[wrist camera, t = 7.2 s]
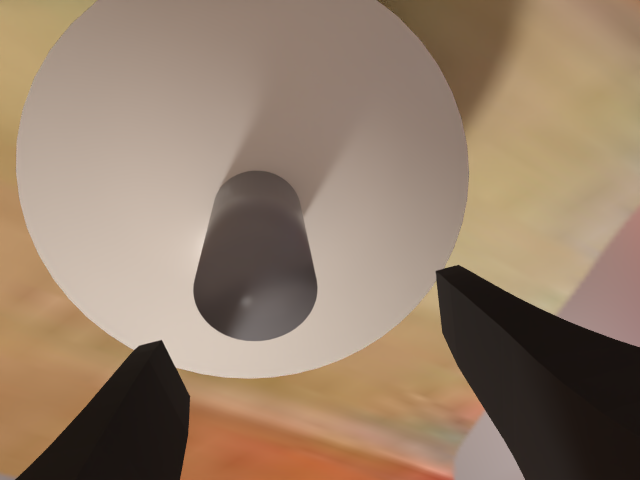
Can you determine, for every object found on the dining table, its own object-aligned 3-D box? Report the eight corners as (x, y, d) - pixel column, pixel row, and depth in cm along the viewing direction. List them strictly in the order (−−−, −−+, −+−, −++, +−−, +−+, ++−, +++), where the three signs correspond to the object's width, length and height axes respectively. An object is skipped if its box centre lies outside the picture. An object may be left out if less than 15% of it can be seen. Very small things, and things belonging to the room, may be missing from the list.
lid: (458, -82, 13) (590, -148, 8) (460, 327, 20) (531, 436, 15) (-69, 6, 12) (-305, -2, 7) (123, 395, 19) (73, 533, 14)
